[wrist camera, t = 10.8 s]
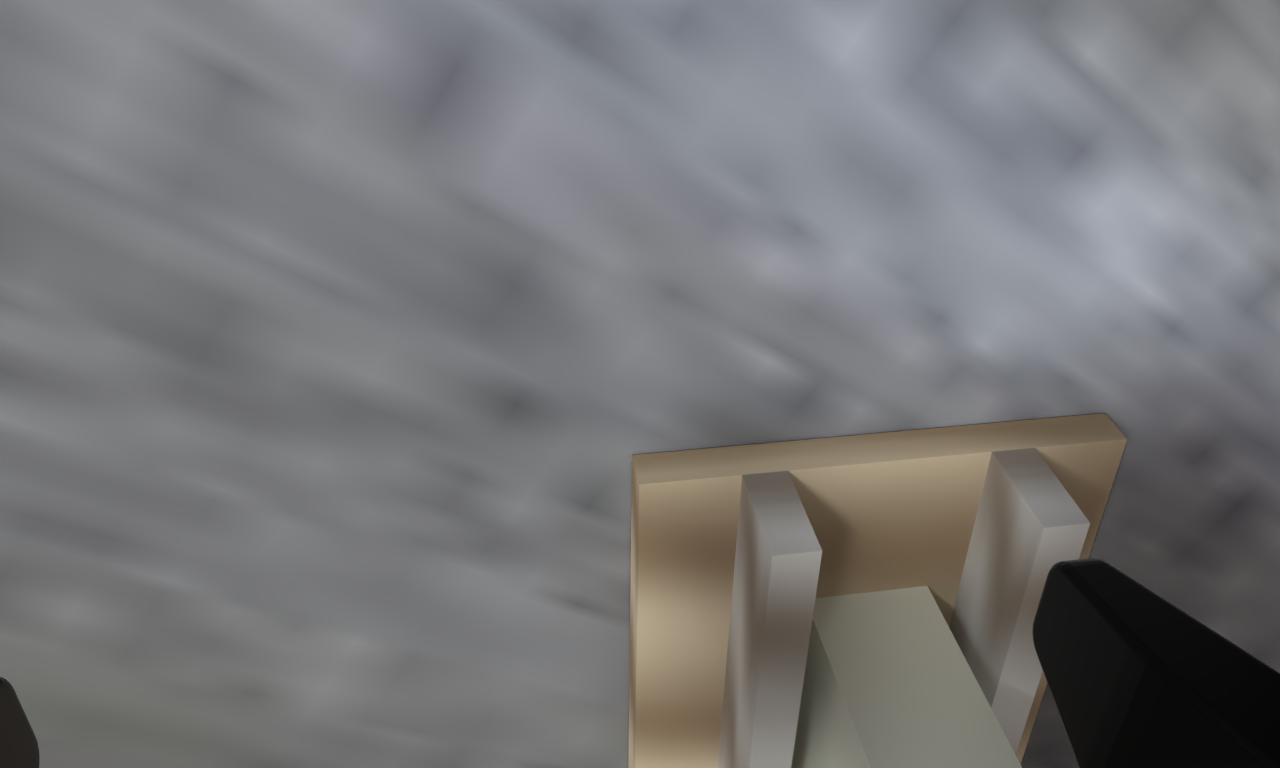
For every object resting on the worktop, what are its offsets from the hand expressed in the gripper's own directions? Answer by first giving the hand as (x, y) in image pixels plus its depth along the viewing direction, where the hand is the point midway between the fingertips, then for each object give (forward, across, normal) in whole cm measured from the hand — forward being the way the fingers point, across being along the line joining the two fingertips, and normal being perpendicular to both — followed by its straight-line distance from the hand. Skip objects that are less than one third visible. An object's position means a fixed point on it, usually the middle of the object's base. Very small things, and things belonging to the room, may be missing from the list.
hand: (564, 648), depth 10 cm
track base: (+12, -8, +16) cm, 22 cm away
